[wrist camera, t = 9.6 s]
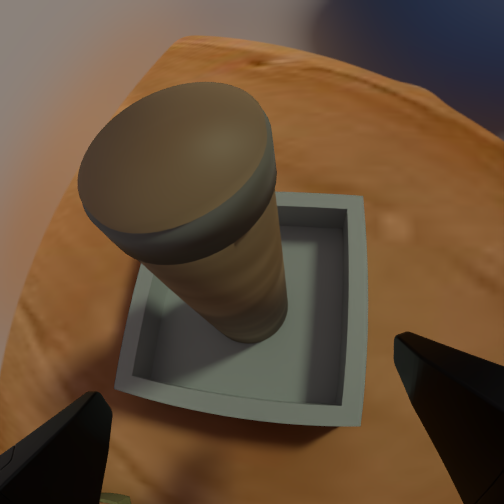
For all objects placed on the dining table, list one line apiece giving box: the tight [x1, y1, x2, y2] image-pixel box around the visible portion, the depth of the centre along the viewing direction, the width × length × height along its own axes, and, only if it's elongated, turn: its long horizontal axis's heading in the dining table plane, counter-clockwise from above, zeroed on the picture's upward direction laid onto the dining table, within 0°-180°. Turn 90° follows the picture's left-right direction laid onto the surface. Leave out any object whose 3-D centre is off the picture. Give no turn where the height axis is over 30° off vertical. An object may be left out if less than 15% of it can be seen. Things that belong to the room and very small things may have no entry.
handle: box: [78, 82, 288, 344], centre depth 11 cm, size 5×5×12 cm
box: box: [114, 192, 368, 426], centre depth 16 cm, size 12×12×3 cm
